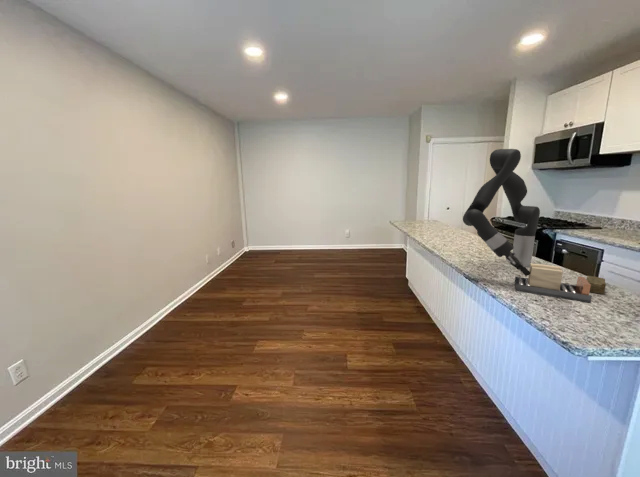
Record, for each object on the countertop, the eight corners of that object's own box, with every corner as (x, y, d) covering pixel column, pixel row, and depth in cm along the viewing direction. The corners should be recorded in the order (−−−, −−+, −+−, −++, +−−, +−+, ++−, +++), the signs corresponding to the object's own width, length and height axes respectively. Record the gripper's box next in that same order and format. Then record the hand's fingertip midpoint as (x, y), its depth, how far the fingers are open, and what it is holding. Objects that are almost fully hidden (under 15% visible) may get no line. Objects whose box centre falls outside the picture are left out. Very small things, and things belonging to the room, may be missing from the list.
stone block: (585, 292, 118) (587, 281, 117) (584, 284, 126) (586, 274, 125) (604, 295, 114) (606, 284, 113) (602, 288, 122) (604, 277, 121)
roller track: (514, 282, 130) (516, 268, 128) (583, 292, 117) (586, 276, 116) (515, 290, 120) (517, 275, 119) (590, 302, 107) (594, 286, 106)
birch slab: (527, 280, 125) (530, 263, 124) (556, 284, 120) (559, 266, 118) (529, 285, 119) (532, 267, 117) (559, 290, 113) (562, 271, 112)
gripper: (506, 242, 118) (538, 274, 114) (506, 236, 129) (535, 265, 125) (490, 252, 122) (520, 283, 118) (491, 246, 133) (519, 274, 129)
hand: (528, 274), depth 121 cm, fingers closed
